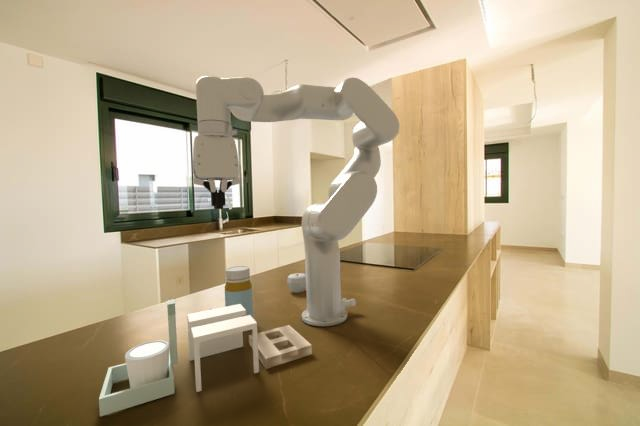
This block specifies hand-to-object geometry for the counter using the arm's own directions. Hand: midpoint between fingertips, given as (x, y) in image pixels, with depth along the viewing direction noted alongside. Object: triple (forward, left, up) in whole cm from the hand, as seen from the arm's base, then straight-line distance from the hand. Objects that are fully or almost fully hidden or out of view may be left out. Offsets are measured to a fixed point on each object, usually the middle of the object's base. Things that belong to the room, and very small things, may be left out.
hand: (218, 208), depth 70 cm
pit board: (-9, +13, -31) cm, 35 cm away
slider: (+17, +13, -31) cm, 38 cm away
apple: (-30, -22, -31) cm, 49 cm away
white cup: (+16, +14, -31) cm, 38 cm away
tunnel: (+3, +13, -31) cm, 34 cm away
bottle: (-5, -5, -31) cm, 32 cm away
